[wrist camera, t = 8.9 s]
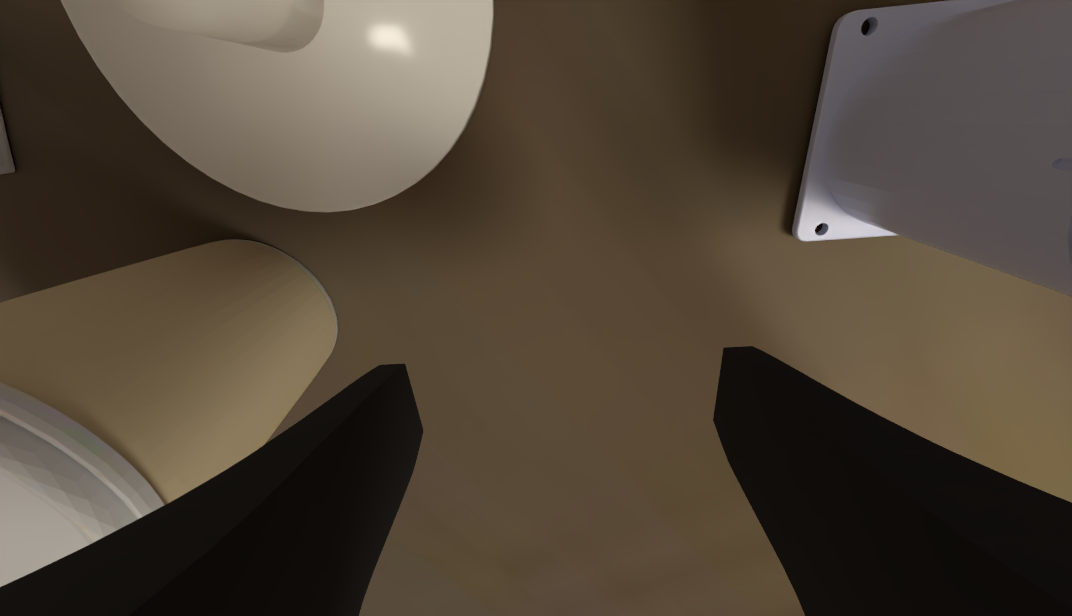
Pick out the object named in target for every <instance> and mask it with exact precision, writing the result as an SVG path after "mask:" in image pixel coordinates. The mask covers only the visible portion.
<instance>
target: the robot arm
mask: <svg viewBox="0 0 1072 616" xmlns="http://www.w3.org/2000/svg"><path fill="white" fill-rule="evenodd" d="M865 20H868V22H869V23H870V28H869V30H868V32H867V33H866V34H865V35H863V34H862V32H861V26H862V24H863V22H864V21H865ZM821 223H823V227H822V229H821V230H820V231H819V232H816V233H815V229H816V227H817V226H818V225H819V224H821ZM792 234H793V236H794V237H795V238H797V239H799V240H801V241H821V240H835V239H850V238H865V237H880V236H895V235H901V236H904V237H907V238H909V239H912V240H915V241H918V242H921V243H923V244H926V245H929V246H932V247H934V248H937V249H940V250H943V251H946V252H948V253H951V254H954V255H957V256H960V257H962V258H965V259H968V260H971V261H974V262H976V263H979V264H982V265H985V266H988V267H990V268H993V269H996V270H999V271H1002V272H1004V273H1007V274H1010V275H1013V276H1016V277H1018V278H1021V279H1024V280H1027V281H1030V282H1032V283H1035V284H1038V285H1041V286H1044V287H1046V288H1049V289H1052V290H1055V291H1058V292H1060V293H1063V294H1066V295H1069V296H1072V0H949V1H939V2H930V3H921V4H911V5H902V6H892V7H883V8H873V9H864V10H856V11H853V12H850V13H847V14H844V15H843V16H842V17H840V18H839V19H838V21H837V22H836V23H835V25H834V27H833V30H832V34H831V39H830V44H829V49H828V54H827V59H826V64H825V69H824V74H823V79H822V84H821V89H820V93H819V98H818V103H817V108H816V113H815V118H814V123H813V128H812V133H811V138H810V143H809V148H808V153H807V158H806V163H805V168H804V173H803V177H802V182H801V187H800V192H799V197H798V202H797V207H796V212H795V217H794V222H793V227H792ZM713 421H714V424H715V426H716V429H717V432H718V435H719V438H720V441H721V443H722V446H723V449H724V451H725V454H726V456H727V459H728V462H729V464H730V466H731V468H732V470H733V472H734V474H735V476H736V478H737V479H738V481H739V483H740V485H741V487H742V489H743V491H744V493H745V495H746V497H747V499H748V501H749V503H750V505H751V506H752V508H753V510H754V512H755V514H756V516H757V518H758V520H759V522H760V524H761V525H762V527H763V529H764V531H765V533H766V535H767V537H768V539H769V541H770V543H771V544H772V546H773V548H774V550H775V552H776V554H777V556H778V558H779V560H780V562H781V564H782V565H783V567H784V569H785V572H786V574H787V576H788V578H789V580H790V582H791V584H792V586H793V588H794V590H795V592H796V595H797V597H798V599H799V602H800V604H801V606H802V609H803V611H804V614H805V616H1072V503H1071V502H1069V501H1066V500H1064V499H1061V498H1058V497H1056V496H1054V495H1051V494H1049V493H1046V492H1044V491H1042V490H1039V489H1037V488H1034V487H1032V486H1029V485H1027V484H1025V483H1022V482H1020V481H1017V480H1015V479H1013V478H1011V477H1008V476H1006V475H1004V474H1002V473H999V472H997V471H995V470H993V469H990V468H988V467H986V466H984V465H981V464H979V463H977V462H975V461H972V460H970V459H968V458H966V457H963V456H961V455H959V454H957V453H954V452H952V451H950V450H948V449H946V448H944V447H942V446H939V445H937V444H935V443H933V442H931V441H929V440H927V439H925V438H923V437H921V436H919V435H917V434H915V433H913V432H911V431H909V430H907V429H905V428H903V427H901V426H899V425H897V424H895V423H893V422H891V421H889V420H887V419H885V418H883V417H881V416H879V415H877V414H876V413H874V412H872V411H870V410H868V409H866V408H864V407H862V406H860V405H859V404H857V403H855V402H853V401H851V400H849V399H848V398H846V397H844V396H842V395H840V394H839V393H837V392H835V391H833V390H831V389H830V388H828V387H826V386H824V385H822V384H821V383H819V382H817V381H815V380H814V379H812V378H810V377H808V376H807V375H805V374H803V373H801V372H800V371H798V370H796V369H794V368H793V367H791V366H789V365H787V364H785V363H784V362H782V361H780V360H778V359H776V358H775V357H773V356H771V355H769V354H767V353H765V352H763V351H761V350H759V349H757V348H755V347H753V346H748V347H729V348H724V349H723V356H722V363H721V370H720V377H719V383H718V390H717V397H716V404H715V411H714V418H713ZM422 435H423V428H422V424H421V420H420V417H419V413H418V409H417V406H416V402H415V398H414V395H413V391H412V387H411V384H410V380H409V376H408V373H407V369H406V366H405V364H389V365H379V366H377V367H376V368H374V369H372V370H371V371H369V372H368V373H366V374H365V375H363V376H362V377H360V378H359V379H357V380H356V381H355V382H353V383H352V384H350V385H349V386H348V387H346V388H345V389H343V390H342V391H341V392H339V393H338V394H337V395H335V396H334V397H332V398H331V399H330V400H328V401H327V402H325V403H324V404H323V405H321V406H320V407H319V408H317V409H316V410H314V411H313V412H312V413H310V414H309V415H307V416H306V417H305V418H303V419H302V420H300V421H299V422H298V423H296V424H295V425H293V426H292V427H290V428H289V429H287V430H286V431H284V432H283V433H281V434H280V435H278V436H277V437H275V438H274V439H272V440H271V441H269V442H268V443H266V444H265V445H263V446H262V447H260V448H259V449H257V450H256V451H254V452H253V453H251V454H250V455H249V456H247V457H245V458H244V459H242V460H241V461H239V462H237V463H236V464H234V465H233V466H231V467H229V468H228V469H226V470H225V471H223V472H221V473H220V474H218V475H216V476H215V477H213V478H211V479H210V480H208V481H206V482H204V483H203V484H201V485H199V486H198V487H196V488H194V489H192V490H191V491H189V492H187V493H186V494H184V495H182V496H180V497H179V498H177V499H175V500H173V501H171V502H170V503H168V504H166V505H164V506H162V507H160V508H158V509H156V510H155V511H153V512H151V513H149V514H147V515H145V516H143V517H141V518H139V519H137V520H135V521H134V522H132V523H130V524H128V525H126V526H124V527H122V528H120V529H118V530H116V531H114V532H113V533H111V534H109V535H107V536H105V537H103V538H101V539H99V540H97V541H95V542H93V543H92V544H90V545H88V546H86V547H84V548H82V549H80V550H78V551H76V552H73V553H71V554H69V555H67V556H65V557H63V558H61V559H59V560H57V561H55V562H53V563H51V564H48V565H46V566H44V567H42V568H40V569H38V570H36V571H34V572H32V573H30V574H28V575H25V576H23V577H21V578H19V579H17V580H14V581H12V582H10V583H8V584H6V585H4V586H1V587H0V616H359V612H360V609H361V606H362V602H363V599H364V596H365V593H366V591H367V588H368V585H369V582H370V579H371V577H372V574H373V571H374V569H375V566H376V564H377V561H378V559H379V556H380V554H381V551H382V549H383V546H384V544H385V541H386V539H387V536H388V534H389V531H390V529H391V526H392V524H393V521H394V519H395V516H396V514H397V511H398V509H399V507H400V504H401V501H402V499H403V496H404V494H405V491H406V489H407V486H408V484H409V481H410V478H411V476H412V473H413V470H414V466H415V463H416V459H417V455H418V451H419V447H420V443H421V439H422Z"/></svg>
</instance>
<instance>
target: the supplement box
mask: <svg viewBox="0 0 1072 616" xmlns="http://www.w3.org/2000/svg"><path fill="white" fill-rule="evenodd" d="M13 172H15V167H14V164H13V159H12V155H11V151H10V147H9V143H8V139H7V134H6V129H5V125H4V120H3V116H2V111H1V107H0V174H7V173H13Z"/></svg>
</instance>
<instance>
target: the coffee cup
mask: <svg viewBox="0 0 1072 616" xmlns="http://www.w3.org/2000/svg"><path fill="white" fill-rule="evenodd" d="M337 332H338V325H337V317H336V313H335V309H334V307H333V304H332V302H331V299H330V297H329V296H328V294H327V292H326V291H325V289H324V288H323V286H322V285H321V283H320V282H319V281H318V280H317V278H316V277H315V276H314V275H313V274H312V273H311V272H310V271H309V270H308V269H307V268H305V267H304V266H303V265H302V264H301V263H300V262H298V261H297V260H295V259H294V258H292V257H291V256H289V255H287V254H286V253H284V252H282V251H280V250H278V249H276V248H274V247H271V246H269V245H266V244H263V243H260V242H255V241H250V240H238V239H229V240H220V241H215V242H211V243H207V244H203V245H199V246H195V247H192V248H188V249H184V250H181V251H177V252H174V253H170V254H167V255H163V256H160V257H156V258H153V259H149V260H146V261H142V262H139V263H135V264H132V265H128V266H125V267H121V268H118V269H114V270H111V271H107V272H103V273H100V274H96V275H93V276H89V277H86V278H82V279H79V280H75V281H72V282H69V283H65V284H62V285H58V286H55V287H51V288H48V289H44V290H41V291H38V292H34V293H31V294H27V295H24V296H20V297H17V298H14V299H10V300H7V301H3V302H0V587H1V586H4V585H6V584H8V583H10V582H12V581H14V580H17V579H19V578H21V577H23V576H25V575H28V574H30V573H32V572H34V571H36V570H38V569H40V568H42V567H44V566H46V565H48V564H51V563H53V562H55V561H57V560H59V559H61V558H63V557H65V556H67V555H69V554H71V553H73V552H76V551H78V550H80V549H82V548H84V547H86V546H88V545H90V544H92V543H93V542H95V541H97V540H99V539H101V538H103V537H105V536H107V535H109V534H111V533H113V532H114V531H116V530H118V529H120V528H122V527H124V526H126V525H128V524H130V523H132V522H134V521H135V520H137V519H139V518H141V517H143V516H145V515H147V514H149V513H151V512H153V511H155V510H156V509H158V508H160V507H162V506H164V505H166V504H168V503H170V502H171V501H173V500H175V499H177V498H179V497H180V496H182V495H184V494H186V493H187V492H189V491H191V490H192V489H194V488H196V487H198V486H199V485H201V484H203V483H204V482H206V481H208V480H210V479H211V478H213V477H215V476H216V475H218V474H220V473H221V472H223V471H225V470H226V469H228V468H229V467H231V466H233V465H234V464H236V463H237V462H239V461H241V460H242V459H244V458H245V457H247V456H249V455H250V454H251V453H253V452H254V451H256V450H257V449H259V448H260V447H262V446H263V445H264V444H265V443H266V442H267V440H268V439H269V438H270V436H271V435H272V434H273V432H274V431H275V430H276V428H277V427H278V426H279V424H280V423H281V422H282V420H283V419H284V417H285V416H286V415H287V413H288V412H289V411H290V409H291V408H292V407H293V405H294V404H295V403H296V401H297V400H298V399H299V397H300V396H301V395H302V393H303V392H304V391H305V389H306V388H307V387H308V385H309V384H310V383H311V381H312V380H313V379H314V377H315V376H316V375H317V373H318V372H319V370H320V369H321V367H322V366H323V365H324V363H325V362H326V360H327V359H328V357H329V356H330V354H331V353H332V350H333V348H334V346H335V342H336V339H337Z"/></svg>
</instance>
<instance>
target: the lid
mask: <svg viewBox="0 0 1072 616" xmlns="http://www.w3.org/2000/svg"><path fill="white" fill-rule="evenodd" d="M61 3H62V5H63V7H64V8H65V10H66V12H67V14H68V16H69V18H70V20H71V22H72V24H73V26H74V28H75V30H76V32H77V34H78V36H79V38H80V39H81V41H82V42H83V44H84V46H85V47H86V49H87V50H88V52H89V54H90V55H91V57H92V59H93V60H94V62H95V63H96V65H97V67H98V68H99V69H100V71H101V72H102V73H103V75H104V76H105V78H106V79H107V80H108V82H109V83H110V84H111V86H112V87H113V88H114V90H115V91H116V92H117V94H118V95H119V96H120V97H121V99H122V100H123V101H124V102H125V103H126V104H127V105H128V107H129V108H130V109H131V110H132V111H133V112H134V113H135V115H136V116H137V117H138V118H139V119H140V120H141V121H142V122H143V123H144V124H145V125H146V126H147V127H148V128H149V129H150V130H151V131H152V132H153V133H154V134H155V135H156V136H157V137H158V138H159V139H160V140H161V141H162V142H163V143H165V144H166V145H167V146H168V147H169V148H171V149H172V150H173V151H174V152H176V153H177V154H178V155H179V156H181V157H182V158H183V159H184V160H186V161H187V162H188V163H190V164H191V165H193V166H194V167H196V168H197V169H199V170H200V171H202V172H203V173H205V174H206V175H208V176H209V177H211V178H212V179H214V180H216V181H218V182H220V183H222V184H223V185H225V186H227V187H229V188H231V189H233V190H235V191H237V192H239V193H242V194H244V195H246V196H249V197H251V198H254V199H256V200H259V201H262V202H265V203H269V204H272V205H276V206H279V207H283V208H288V209H294V210H300V211H307V212H338V211H348V210H354V209H358V208H362V207H366V206H370V205H374V204H376V203H379V202H381V201H384V200H386V199H389V198H391V197H393V196H395V195H397V194H399V193H401V192H403V191H404V190H406V189H407V188H409V187H411V186H412V185H414V184H416V183H417V182H419V181H420V180H421V179H423V178H424V177H425V176H426V175H427V174H429V173H430V172H431V171H432V170H433V169H435V168H436V167H437V166H438V165H439V163H440V162H441V161H442V160H443V159H444V158H445V157H446V156H447V154H448V153H449V152H450V151H451V150H452V148H453V147H454V145H455V144H456V142H457V141H458V139H459V138H460V136H461V135H462V133H463V132H464V130H465V129H466V127H467V125H468V122H469V120H470V118H471V116H472V114H473V112H474V110H475V108H476V106H477V103H478V100H479V97H480V94H481V91H482V88H483V85H484V82H485V79H486V75H487V70H488V65H489V60H490V55H491V50H492V41H493V30H494V19H495V7H494V0H61Z"/></svg>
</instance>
